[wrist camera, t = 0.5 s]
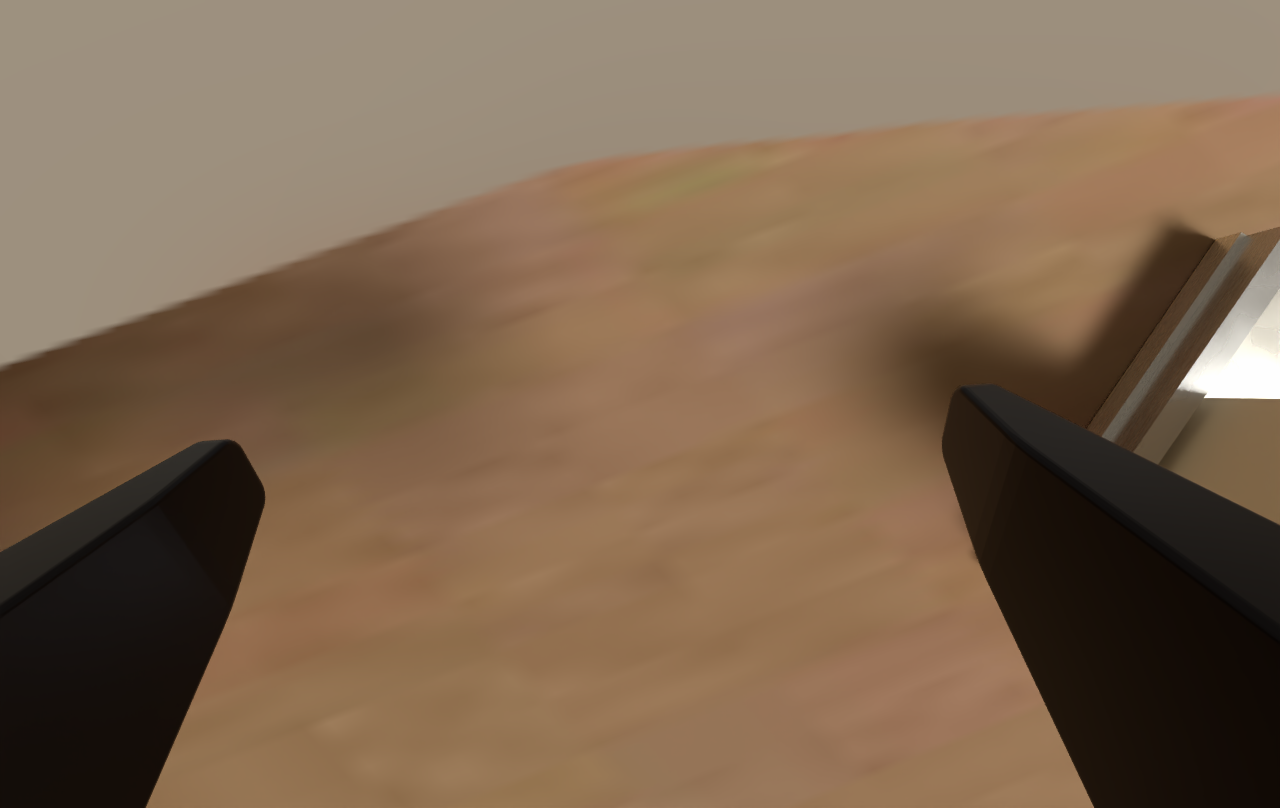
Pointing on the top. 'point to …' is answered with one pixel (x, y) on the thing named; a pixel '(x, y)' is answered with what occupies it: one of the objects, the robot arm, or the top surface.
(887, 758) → the top surface
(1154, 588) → the robot arm
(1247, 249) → the gauge frame
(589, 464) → the top surface
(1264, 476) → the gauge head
